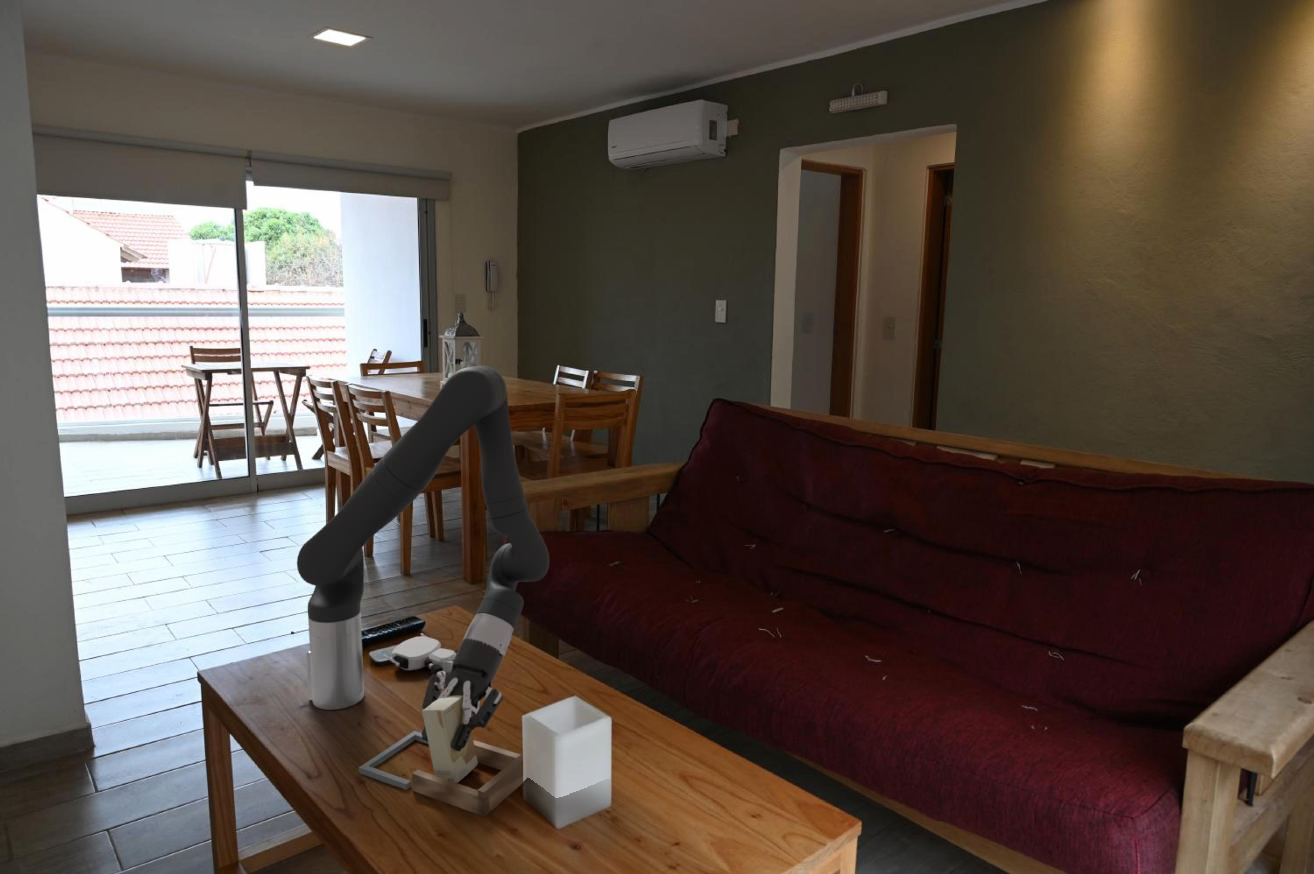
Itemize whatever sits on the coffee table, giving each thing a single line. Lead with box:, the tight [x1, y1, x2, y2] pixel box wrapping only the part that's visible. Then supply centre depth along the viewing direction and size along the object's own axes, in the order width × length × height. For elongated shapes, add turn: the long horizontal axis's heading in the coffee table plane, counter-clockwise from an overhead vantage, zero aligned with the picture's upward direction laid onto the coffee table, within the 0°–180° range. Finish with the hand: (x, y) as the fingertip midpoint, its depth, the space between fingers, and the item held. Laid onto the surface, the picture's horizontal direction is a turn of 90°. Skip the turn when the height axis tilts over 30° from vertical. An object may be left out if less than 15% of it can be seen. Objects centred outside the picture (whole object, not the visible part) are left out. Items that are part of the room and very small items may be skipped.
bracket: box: [358, 730, 429, 791], centre depth 140 cm, size 10×13×1 cm
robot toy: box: [382, 633, 458, 677], centre depth 174 cm, size 12×4×15 cm
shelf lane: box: [411, 739, 524, 817], centre depth 134 cm, size 14×12×4 cm
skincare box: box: [421, 696, 479, 784], centre depth 135 cm, size 6×4×12 cm
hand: (440, 744), depth 133 cm, fingers closed on skincare box, 5 cm apart
